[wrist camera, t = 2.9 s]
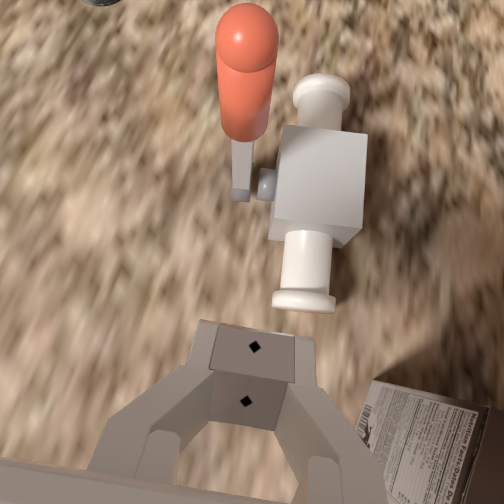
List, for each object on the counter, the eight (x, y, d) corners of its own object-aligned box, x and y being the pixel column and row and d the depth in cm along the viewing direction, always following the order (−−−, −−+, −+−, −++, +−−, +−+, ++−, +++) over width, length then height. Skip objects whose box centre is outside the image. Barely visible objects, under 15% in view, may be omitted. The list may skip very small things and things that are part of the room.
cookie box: (484, 424, 33) (715, 494, 17) (459, 511, 31) (687, 678, 15) (370, 375, 33) (492, 399, 17) (341, 459, 32) (445, 569, 16)
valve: (336, 316, 34) (357, 309, 28) (244, 305, 34) (245, 296, 28) (350, 110, 38) (371, 66, 32) (268, 100, 38) (273, 54, 32)
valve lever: (256, 208, 34) (277, 54, 16) (223, 204, 34) (208, 45, 16) (260, 173, 35) (285, -13, 17) (228, 169, 35) (219, -22, 17)
